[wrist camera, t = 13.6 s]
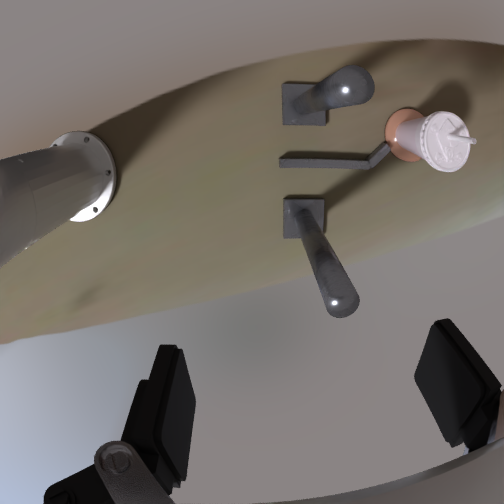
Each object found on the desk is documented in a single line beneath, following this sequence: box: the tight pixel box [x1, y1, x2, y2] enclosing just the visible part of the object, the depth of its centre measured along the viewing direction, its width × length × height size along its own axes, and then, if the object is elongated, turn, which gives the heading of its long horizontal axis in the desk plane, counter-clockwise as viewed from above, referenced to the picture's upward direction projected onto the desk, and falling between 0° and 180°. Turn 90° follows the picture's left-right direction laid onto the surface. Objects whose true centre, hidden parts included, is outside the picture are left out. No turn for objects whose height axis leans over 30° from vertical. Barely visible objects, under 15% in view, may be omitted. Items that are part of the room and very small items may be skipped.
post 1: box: [282, 65, 375, 126], centre depth 24 cm, size 5×5×20 cm
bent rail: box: [279, 143, 391, 170], centre depth 35 cm, size 14×3×2 cm, turn 92°
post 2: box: [283, 198, 360, 318], centre depth 30 cm, size 5×5×20 cm
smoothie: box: [396, 111, 476, 172], centre depth 27 cm, size 6×6×14 cm
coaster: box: [385, 109, 424, 162], centre depth 34 cm, size 7×7×1 cm
